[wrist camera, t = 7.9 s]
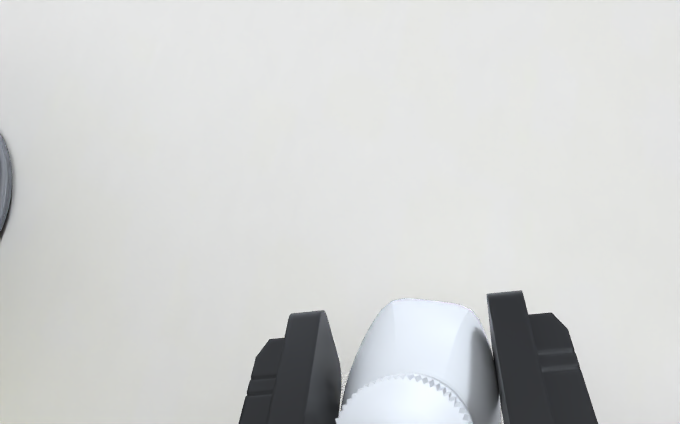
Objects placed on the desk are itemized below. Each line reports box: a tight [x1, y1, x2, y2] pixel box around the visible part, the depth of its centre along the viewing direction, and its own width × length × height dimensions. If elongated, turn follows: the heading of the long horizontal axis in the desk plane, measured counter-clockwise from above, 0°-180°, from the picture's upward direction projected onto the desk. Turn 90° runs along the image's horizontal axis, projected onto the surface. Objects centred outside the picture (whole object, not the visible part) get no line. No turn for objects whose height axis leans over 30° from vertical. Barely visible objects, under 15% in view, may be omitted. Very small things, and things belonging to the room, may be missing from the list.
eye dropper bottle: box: [335, 298, 501, 424], centre depth 15 cm, size 4×6×12 cm
